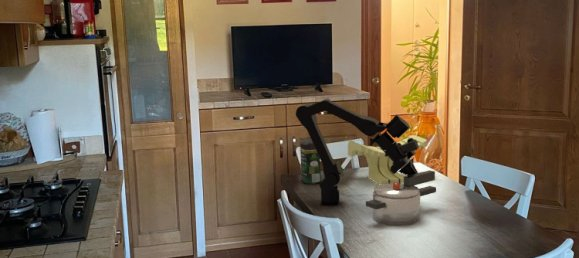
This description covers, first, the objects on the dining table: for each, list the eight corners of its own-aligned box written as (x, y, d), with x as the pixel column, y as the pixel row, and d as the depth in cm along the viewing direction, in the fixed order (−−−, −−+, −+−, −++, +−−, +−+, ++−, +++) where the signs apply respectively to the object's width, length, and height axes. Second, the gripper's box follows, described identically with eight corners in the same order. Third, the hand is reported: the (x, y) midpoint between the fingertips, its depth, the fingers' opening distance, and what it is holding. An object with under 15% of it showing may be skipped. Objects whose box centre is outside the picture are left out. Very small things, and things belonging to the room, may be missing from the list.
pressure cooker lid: (398, 201, 192) (398, 188, 192) (364, 191, 204) (364, 179, 203) (449, 186, 208) (449, 174, 208) (415, 178, 220) (415, 167, 219)
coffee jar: (298, 179, 260) (297, 138, 257) (315, 178, 262) (314, 137, 259) (305, 185, 251) (305, 142, 248) (323, 183, 253) (322, 140, 250)
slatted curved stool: (410, 172, 269) (410, 133, 266) (426, 180, 254) (427, 139, 251) (348, 177, 261) (347, 138, 258) (361, 186, 246) (361, 144, 243)
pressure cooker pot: (388, 231, 191) (388, 205, 190) (354, 219, 204) (354, 194, 202) (450, 212, 209) (451, 188, 208) (416, 202, 222) (416, 179, 220)
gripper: (400, 136, 203) (431, 170, 201) (410, 127, 220) (439, 159, 218) (377, 157, 207) (408, 190, 205) (389, 147, 224) (417, 178, 222)
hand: (419, 178), depth 212 cm, fingers closed
